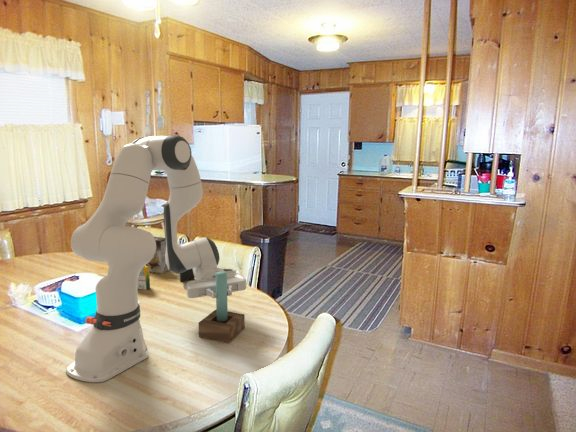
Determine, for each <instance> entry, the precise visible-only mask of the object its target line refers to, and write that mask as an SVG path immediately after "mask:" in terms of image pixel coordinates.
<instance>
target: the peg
mask: <svg viewBox="0 0 576 432" xmlns="http://www.w3.org/2000/svg"><path fill="white" fill-rule="evenodd" d="M216 292H217V298H215V299H216V304H215V305H216V307H215V308H216V309H215V310H217V321H220V322H224V321H226V320H228V312H229V311H228V296H227V272H224V271H220V272H216Z"/></svg>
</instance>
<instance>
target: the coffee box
mask: <svg viewBox="0 0 576 432" xmlns="http://www.w3.org/2000/svg"><path fill="white" fill-rule="evenodd" d="M154 238H155V241H156V252H155V255H154V257H153V258H152V259H151V261H150V262H149V263H147V264H146V265H145V266H149V273H154V272H155V274H164V273H165V272H168V271H170V270H169V269H168V267H167V265H166V261H165V253H166V245H165V237H161V236H160V237H158V236H154Z"/></svg>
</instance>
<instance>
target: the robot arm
mask: <svg viewBox="0 0 576 432" xmlns="http://www.w3.org/2000/svg"><path fill="white" fill-rule="evenodd" d="M153 171H159V172H160V171H161V172H162V171H164V172H165V174H166V179H167V184H168V188H169V196H168V200H167V202H165V203H164V206H163V228H164V229H163V230H164V238H165V245H166V253H165V261H166V265H167V267H168V269H169V270H168V271H170V272H172V273H173V274H178V275H179V274H180V273H182V272H185V271H187V270H189V269H192V268H193V274H194V277H195V279H193V280H188V281H187V283H186V284H183V286H182V288H183V289H184V290H185V291H186V295H187V298H188V299H197V298H201V297H203V298H204V297H211V298H212V299H216V298H217V292H216V272H220V271H224V272H227V297H229V296H233V293H235V292H242V291H245V290H247V279H246V278H245V277H244V276H243V275H242V274H241V273H239V272H237V271H236V269H234V268H221V267H218V266H219V263H220V258H221V257H220V253H219V249H218V247H217V245H216V243H215V242H214V240H213V239H211V238H209V237H208V236H207V237H206V236H205V237H200V238H197V239H194V240H191V241H187V242H185V243H181V244H179V243H178V229H177V228H178V222H179V221H180V219H181V218H182V217H183V216H184V215H186V214H188V213H189V212H190V211H192V210H193V209H194V208H195V207H197V206H198V205H199V204H200V202H201V200H202V198H203V196H204V191H203V189H204V188H203V185H202V184H203V183H202V179H201V175H200V172H199V169H198V165H197V163H196V160H195V159H194V156H193V155H192V149H191V145H190V143H189V142H188V141H187V140H186V139H185V138H184V137H183V136H180V135H175V134H170V135H157V134H156V135H151V136H146V137H139V138H137V139H135V140H133V141H132V142H131V143H127V144H125V145H123V146H122V147H120V149H119V151H118V154H117V155H116V158H115V159H114V162H113V165H112V168H111V170H110V174H109V177H108V181H107V184H106V188H105V192H104V195H103V197H102V200H101V202H100V203H99V205H98V207H97V208H96V210H95V211H94V213H93V214H92V216H91V217H90V218H89V219H88V220H87V221H86V222H84V223H82V224H81V225H79V226H77V228H76V229H75V230H73V232H72V235H71V237H70V248H71V251H72V252H73V254H74V255H76V256H77V257H80V258H82V259H84V260H87V261H90V262H97V263H102V264H103V263H105V264H107V266H108V271H107V275H105V276H103V277H102V278H100V279H99V281H98V282H97V283H96V286H95V295H96V296H95V297H96V311H95V313H94V316H87V317H86V318H85V322H84V323H85V324H87V325H88V324H90V325H93V326H92V327H91V328H90V330H89V331H88V332H87V334H86V336H85V337H84V338H83V339H82V340H81V342H80V343H79V344H78V346H77V347H76V348H75V355H74V361H72V362H71V363H70V364H69V365H68V366H66V369H65V373H66V374H67V376H69V377H71V378H73V379H75V380H77V381H83V382H86V383H103V382H106V381H108V380H111V378H114V377H115V376H117V375H119V374H120V373H123V372H124V371H126V370H128V369H129V368H132V367H133V366H135V365H137V364H139V363H141V362H142V361H144V360H145V359H148V357H149V353H148V351H147V344H146V341H145V337H144V333H143V329H142V325H141V320H140V318H141V307H140V304H139V298H138V297H139V296H138V293H139V292H138V289H137V283H138V277H139V274H140V272H141V270H142V268H143V267H144V266H146V264H147V263H149V262H150V261H151V259H152V258H153V257H154V255H155V252H156V241H155V238H154V237H155V236H154V235H153V234H152V233H151V232H150V231H147V230H146V229H142V228H140V227H136V226H127V224H126V223H127V222H128V221H130V219H131V218H132V217H134V216H135V215H137V214H139V213H141V212H142V210H143V208H144V206H145V202H146V199H147V195H148V190H149V186H150V182H151V176H152V172H153Z"/></svg>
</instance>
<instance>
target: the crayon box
mask: <svg viewBox="0 0 576 432" xmlns="http://www.w3.org/2000/svg"><path fill="white" fill-rule="evenodd" d="M150 288H151V282H150V272H149V266H146V265H145V266H144V267H143V268H142V270H141V272H140V274H139V277H138V283H137V290H138V289H139V290H144V291H147V290H148V289H150Z"/></svg>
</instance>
